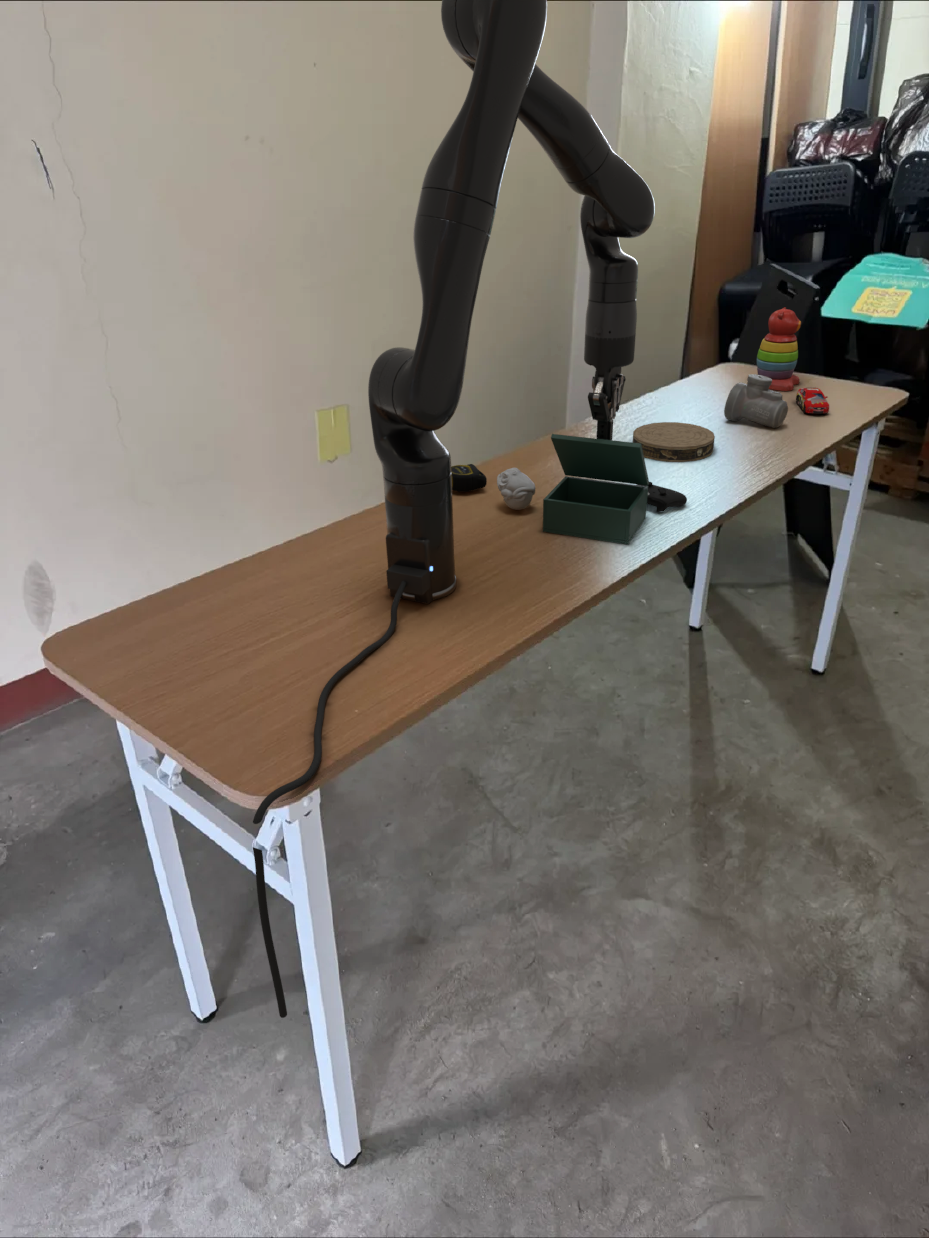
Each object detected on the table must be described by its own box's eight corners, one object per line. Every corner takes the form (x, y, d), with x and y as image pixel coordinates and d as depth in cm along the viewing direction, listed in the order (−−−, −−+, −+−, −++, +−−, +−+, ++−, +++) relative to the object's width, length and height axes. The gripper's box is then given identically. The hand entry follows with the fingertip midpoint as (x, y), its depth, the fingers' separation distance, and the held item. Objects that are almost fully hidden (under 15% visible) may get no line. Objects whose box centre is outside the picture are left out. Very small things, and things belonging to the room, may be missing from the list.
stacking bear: (790, 392, 207) (803, 314, 198) (748, 387, 211) (758, 311, 202) (800, 381, 215) (813, 306, 206) (759, 377, 219) (769, 304, 210)
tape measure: (488, 492, 156) (488, 473, 154) (451, 498, 154) (451, 478, 152) (476, 480, 161) (475, 461, 159) (440, 485, 160) (440, 465, 158)
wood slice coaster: (701, 434, 181) (702, 420, 179) (722, 460, 167) (724, 445, 165) (625, 437, 180) (626, 423, 179) (640, 463, 167) (642, 448, 165)
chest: (628, 544, 135) (630, 511, 132) (542, 531, 140) (543, 499, 137) (645, 518, 144) (648, 486, 141) (564, 506, 149) (565, 476, 146)
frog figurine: (509, 498, 153) (509, 461, 149) (543, 506, 149) (543, 468, 146) (489, 510, 149) (489, 471, 145) (524, 518, 145) (524, 479, 141)
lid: (640, 448, 130) (641, 443, 130) (550, 438, 135) (551, 433, 135) (648, 486, 141) (649, 481, 141) (564, 475, 146) (566, 471, 146)
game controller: (690, 499, 148) (680, 482, 143) (676, 526, 147) (665, 511, 142) (642, 486, 154) (630, 470, 149) (629, 512, 153) (616, 497, 148)
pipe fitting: (718, 420, 187) (730, 373, 182) (734, 415, 192) (747, 369, 187) (769, 437, 181) (784, 389, 175) (785, 431, 186) (800, 384, 181)
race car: (830, 417, 189) (833, 399, 187) (804, 416, 190) (807, 398, 188) (818, 400, 200) (821, 383, 198) (793, 399, 201) (796, 382, 199)
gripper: (623, 341, 123) (615, 458, 131) (645, 323, 133) (637, 433, 142) (572, 338, 125) (568, 453, 134) (598, 321, 136) (593, 428, 144)
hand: (604, 442), depth 138 cm, fingers closed
